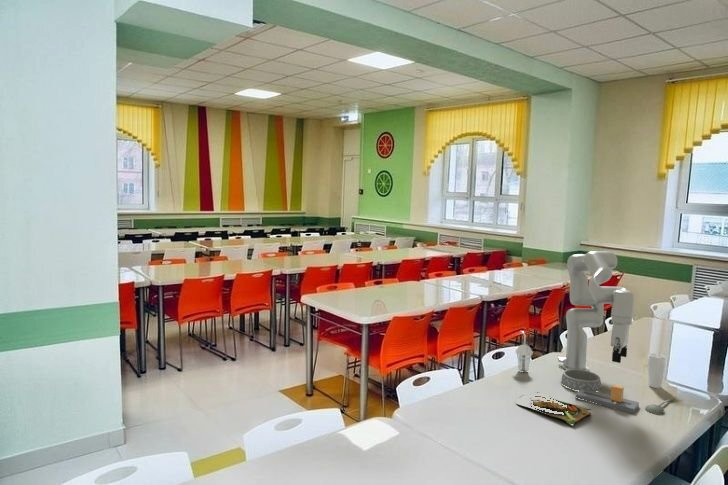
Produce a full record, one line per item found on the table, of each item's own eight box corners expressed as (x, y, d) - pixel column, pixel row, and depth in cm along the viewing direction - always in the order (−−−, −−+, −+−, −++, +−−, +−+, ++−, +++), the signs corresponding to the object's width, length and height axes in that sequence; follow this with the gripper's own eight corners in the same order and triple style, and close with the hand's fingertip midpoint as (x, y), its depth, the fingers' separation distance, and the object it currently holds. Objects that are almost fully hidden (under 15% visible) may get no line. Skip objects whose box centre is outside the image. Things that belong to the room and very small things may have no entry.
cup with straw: (513, 373, 250) (515, 334, 248) (515, 367, 258) (517, 329, 256) (531, 375, 247) (533, 336, 245) (532, 369, 255) (534, 331, 253)
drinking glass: (665, 389, 230) (667, 358, 229) (649, 388, 231) (651, 357, 230) (659, 384, 237) (661, 353, 235) (644, 383, 238) (646, 352, 237)
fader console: (575, 398, 219) (575, 393, 219) (582, 392, 226) (582, 387, 226) (633, 413, 204) (633, 408, 204) (638, 406, 211) (638, 401, 211)
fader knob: (610, 399, 213) (611, 386, 212) (612, 397, 215) (613, 384, 214) (621, 402, 210) (621, 388, 209) (622, 400, 212) (623, 386, 212)
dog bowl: (600, 382, 239) (601, 371, 239) (600, 396, 223) (601, 384, 222) (562, 376, 247) (563, 365, 246) (559, 389, 230) (560, 378, 230)
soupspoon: (641, 413, 208) (658, 419, 202) (642, 405, 207) (659, 412, 202) (664, 398, 221) (680, 404, 216) (664, 391, 220) (681, 397, 215)
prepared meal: (511, 396, 213) (536, 386, 224) (511, 403, 214) (535, 393, 224) (572, 422, 191) (596, 409, 202) (571, 431, 191) (596, 418, 202)
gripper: (617, 314, 218) (615, 352, 220) (606, 321, 205) (604, 362, 207) (636, 317, 213) (633, 356, 215) (626, 325, 200) (623, 366, 202)
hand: (619, 359), depth 211 cm, fingers open, 9 cm apart
